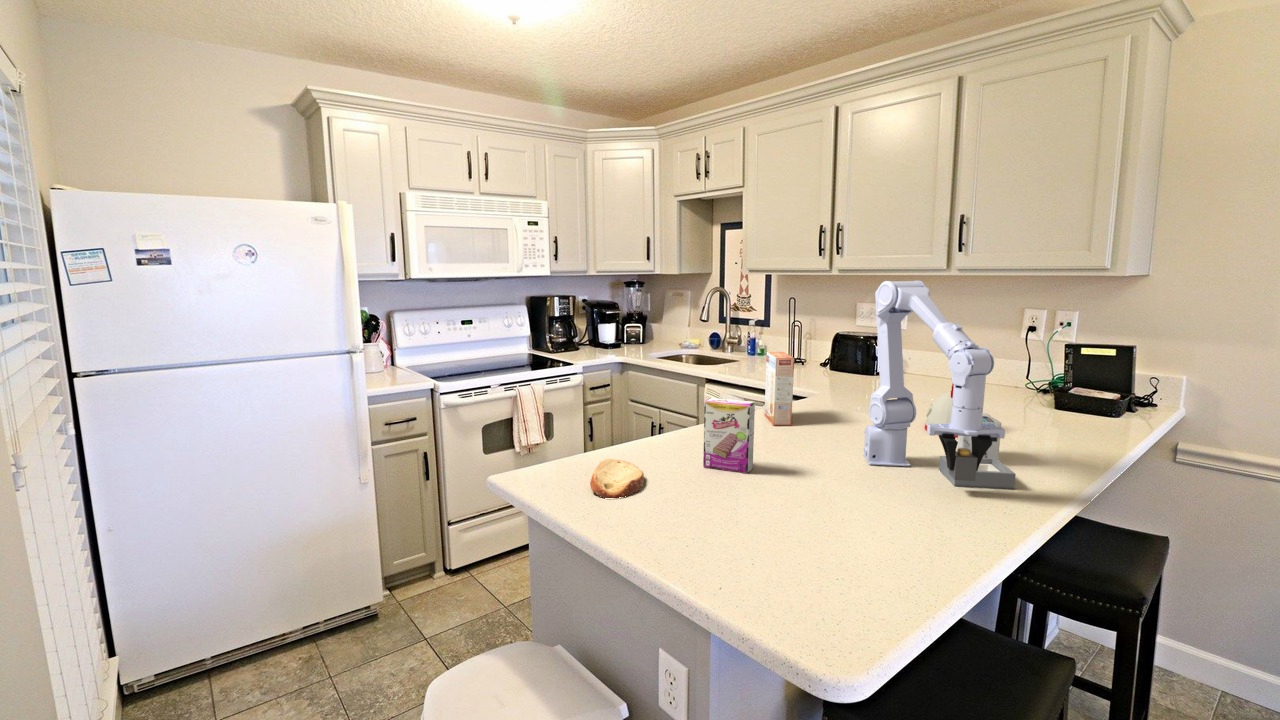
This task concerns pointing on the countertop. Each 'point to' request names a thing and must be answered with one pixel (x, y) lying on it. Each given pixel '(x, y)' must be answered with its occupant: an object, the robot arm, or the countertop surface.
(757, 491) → the countertop surface
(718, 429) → the candy bar box
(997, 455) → the light bulb box
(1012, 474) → the box
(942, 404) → the cream dome
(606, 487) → the slice of bread
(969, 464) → the plug
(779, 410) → the cracker box
